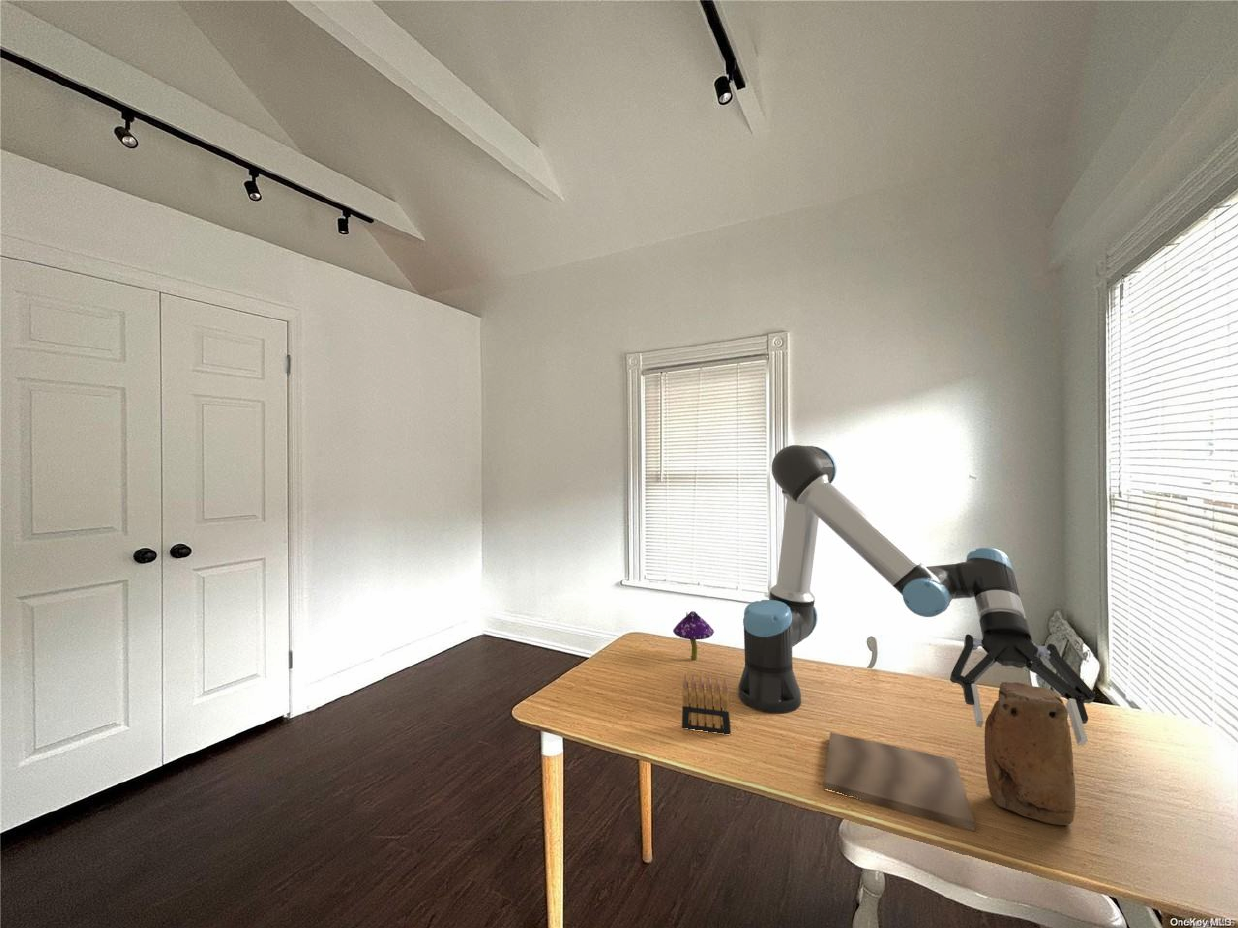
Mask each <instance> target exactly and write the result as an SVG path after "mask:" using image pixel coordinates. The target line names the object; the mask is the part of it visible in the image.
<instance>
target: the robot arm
mask: <svg viewBox="0 0 1238 928" xmlns="http://www.w3.org/2000/svg"><path fill="white" fill-rule="evenodd" d="M771 475H772V476H773V479H774V481H775V483H776V484H777V485H778V486H779V487H780V488H781V489H782V490H781V494H782V496H784V497H785V499H786V505H785V513H784V521H783V530H782V538H781V546H780V547H781V548H780V555H779V564H778V571H777V580H776V584H775V585H773V586H772V587H770V589H769V599H762V600H760V601H759V600H756V601H753V602H751V603H749V604H747V605H746V607H745V608H744V611H743V620H742V625H743V641H744V642H743V643H744V646H743V647H744V648H743V649H744V651H743V652H744V667H743V671H742V674H741V677H740V679H739V682H738V690H737V691H738V698H739V699H740V701H741V702H742V703H743V704H745V705H746V706H748V707H750V708H751V709H752V708H753V709H754V710H757V711H762V712H765V713H774V714H776V713H778V714H780V713H781V714H782V713H790V712H793V711H795V710H797V709H799V708H800V707H801V705H802V694H801V693H802V692H801V690H800V687H799V684H798V682H797V679H796V676H795V673H794V670H793V669H794V668H793V667H794V666H793V647H795V646H796V645H798V644H799V643H801V642H802V641H803V640H805V639H806V638H808V637H810V635H812V633H813V631H814V630H815V629H816V626H817V623H818V612H817V609H816V607H815V601H816V597H815V595H814V594H813V593H812V592H811V583H812V575H813V568H814V559H815V553H816V552H815V551H816V543H817V536H818V527H819V520H821V521H822V522H823V523H824V524H826V526H828V528H830V530H832V531H833V532H834V533H835V534H836V535H837V536H838V537H839V538H841V540H843V541H844V542H845V543H846V544H847V545H848V546H849V547H850V548H851V549H852V550H853V551H854V552H855V553H857V554H858V555H859V556H860V557H861V558H862V559H863V560H864V561H865V562H866V563H867V564H869V566H870V567H872V569H874V570H875V571H876V572H877V573H878V574H879V575H880V576H881V577H882V578H884V579H885V581H887V582H888V583H889V584H890V585H891V586H892V587H893V588H894V589H895V590H897V592H898V593H900V595H902V599H903V602H904V604H905V606H906V607H907V609H908V610H909V611H910V612H912V613H914V614H915V615H917V616H920V617H923V618H933V617H937V616H939V615H940V614H942V613H943V612H945V611H946V610H948V607H949V606H950V603H951V602H952V600H956V599H957V600H958V599H971V598H974V600H975V605H976V611H977V616H978V618H979V620H978V621H979V627H980V631H981V635H982V637H981V638H982V639H980V638H976V637H974V636H973V635H971V634H966V635H965V637H964V642H963V649H962V651H961V653H960V655H959V657H958V659H957V661H956V663H955V664H954V666H953V669H952V671H951V672H950V676H949V678H950V679H949V681H950V682H951V683H952V684H958V685H959V686H961V688H962V691H963V696H964V702H965V704H966V705H969V706H972V709H973V715H974V720H975V726H976V727H979V728H982V727H983V724H984V718H983V712H982V707H981V701H980V696H979V690H978V685H977V683H975V682H977V680H978V679H979V678H981V676H983V675H984V674H985V673H986V672H987V671H988V670H989V669H990V668H992V667H993V666H994V665H995V664H996V663H998V664H1000V665H1001V666H1003V667H1015V668H1019V669H1023V668H1026V669H1028V670H1029V671H1030V672H1031V673H1034V674H1036V675H1038V677H1039V678H1041V680H1043V681H1045V683H1047V684H1048V685H1049V686H1050V687H1051V688H1052V689H1054V690H1055V691H1056V693H1059V695H1061V696H1062V697H1064V698H1065V699H1066V700H1067V702H1065V706H1066V708H1067V711H1068V718H1069V721H1070V724H1071V728H1072V730H1073V736H1074V738H1075V742H1076V744H1077V746H1082V747H1083V746H1085V745H1086V743H1088V740H1089V738H1088V736H1087V733H1086V730H1085V726H1084V725H1086V724H1087V723H1088V722H1089V716H1088V713H1087V709H1086V707H1085V704H1092V702H1093V701H1094V700H1095V698H1096V696H1097V695H1096V694H1095V691H1093V690H1092V689H1091V687H1090V686H1089V685H1088V684H1087V683H1086V682H1085V681H1084V680H1083V679H1082V678H1081V677H1080V676H1079V674H1078V673H1077V672H1076V671H1075V670H1074V669H1073V668H1072V667H1071V666H1070V665H1069V664H1068V663H1067V661H1066V660H1065V659H1064V658H1063V657H1062V656H1061V654H1060V652H1059V650H1058V648H1057V646H1056V645H1055V644H1054V643H1048V644H1047V645H1037V644H1035V643H1034V640H1033V639H1032V635H1031V631H1030V627H1029V624H1028V620H1027V619H1026V617H1027V616H1026V613H1025V609H1024V606H1023V603H1022V598H1021V595H1020V591H1019V588H1018V583H1017V580H1016V576H1015V572H1014V570H1013V569H1014V568H1013V567H1012V564H1011V561H1010V558H1009V557H1008V555H1007V554H1006V553H1005V552H1004V551H1003V550H1002V551H1001V550H999V549H997V548H993V547H981V548H980V547H979V548H976V549H975V550H971V551H969V552H968V554H967V555H966V561H964V562H963V561H962V562H957V563H951V564H941V565H931V566H925V565H924V564H923V563H921V561H919V559H917V558H916V557H915V556H914V555H913V554H912V553H911V552H910V551H908V550H907V549H906V548H905V547H904V546H902V544H900V543H899V542H898V541H897V540H896V539H894V538H893V537H892V536H891V535H890V534H889V533H887V531H886V530H884V529H883V528H882V527H881V526H879V524H878V523H876V522H875V521H874V520H872V519H871V517H869V516H868V515H867V514H866V513H865V512H864V511H862V510H861V509H860V508H859V507H858V506H857V505H855V503H853V502H852V501H851V500H850V499H849V498H847V496H845V495H844V494H843V493H842V492H841V491H840V490H838V489H837V488H836V487H835V486H834V485H833V484H832V483H833V481H834V480H835V478H836V476H837V464H836V461H835V459H834V457H833V456H832V454H831V453H829V452H828V451H827V450H825V449H823V448H821V447H818V446H814V445H800V444H794V445H793V444H791V445H789V446H786V447H785V446H784V448H782V449H780V450H778V452H777V453H776V454H775V456H774V457H773V459H772V462H771ZM979 647H981V648H982V650H983V651H985V652H986V655H985V656H984V657H983V658H982V659H981V660H980V661H978V663H977V664H976V665H975V666H974V667H972V669H970V671H969V672H968V673H967V674H966V675H962V673H963V672H964V669H965V667H966V666H967V663H968V661H969V659H970V657H971V655H972V651H976V650H977V649H978V648H979ZM1038 654H1040V655H1041V656H1042V657H1043V658H1044V659H1045V660H1048V662H1049V663H1050V665H1051V666H1052V667H1053V668H1054V669H1055V671H1056V672H1057V673H1058V674H1059V675H1060V676H1059V675H1058V674H1056V673H1055V672H1054V671H1053V670H1052V669H1050V668H1049V667H1048V666H1047V665H1045V664H1044V662H1043V661H1042V660H1041V659H1040V658H1039V657H1038V656H1037V655H1038Z"/></svg>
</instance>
